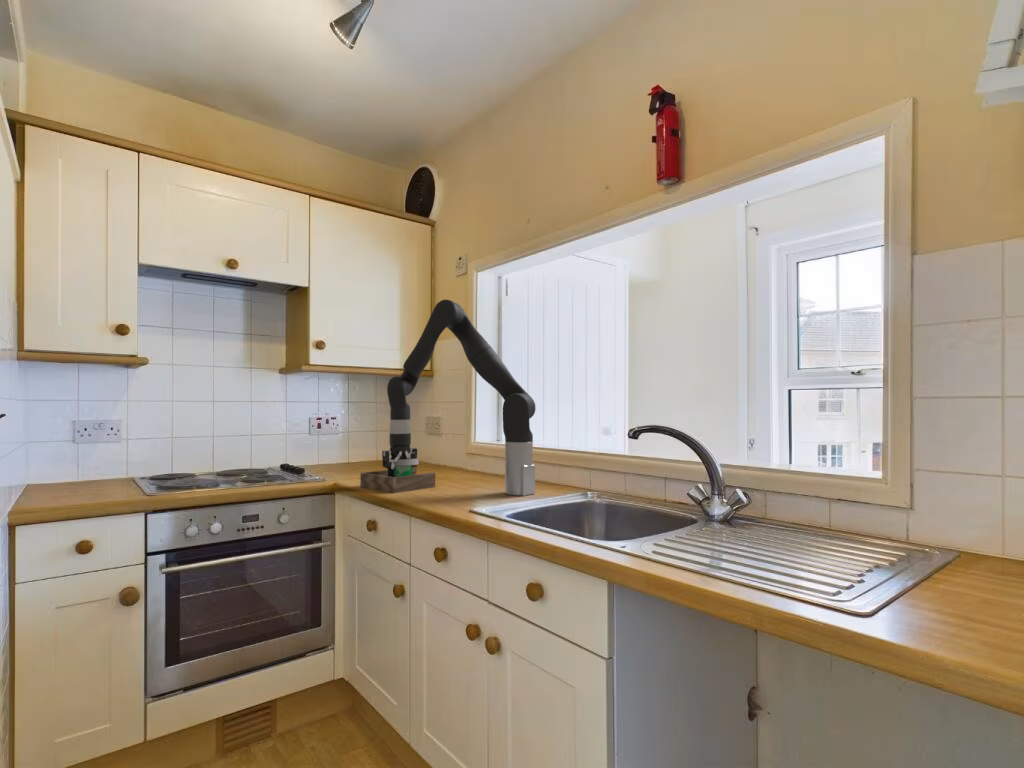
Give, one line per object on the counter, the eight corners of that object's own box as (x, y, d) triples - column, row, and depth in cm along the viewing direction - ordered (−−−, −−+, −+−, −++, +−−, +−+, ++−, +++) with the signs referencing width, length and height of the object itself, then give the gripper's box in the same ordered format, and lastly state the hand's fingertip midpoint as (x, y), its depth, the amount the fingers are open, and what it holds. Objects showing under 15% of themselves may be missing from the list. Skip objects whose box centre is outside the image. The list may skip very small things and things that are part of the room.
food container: (379, 487, 192) (379, 458, 192) (388, 484, 198) (388, 457, 198) (410, 488, 188) (410, 460, 189) (418, 486, 194) (418, 458, 195)
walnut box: (435, 486, 193) (435, 472, 193) (393, 493, 180) (393, 478, 180) (402, 481, 206) (402, 468, 206) (360, 486, 192) (360, 472, 193)
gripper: (389, 433, 186) (389, 481, 186) (422, 431, 197) (422, 477, 197) (377, 432, 191) (376, 479, 191) (409, 430, 202) (409, 475, 202)
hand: (399, 478), depth 194 cm, fingers closed on food container, 7 cm apart
